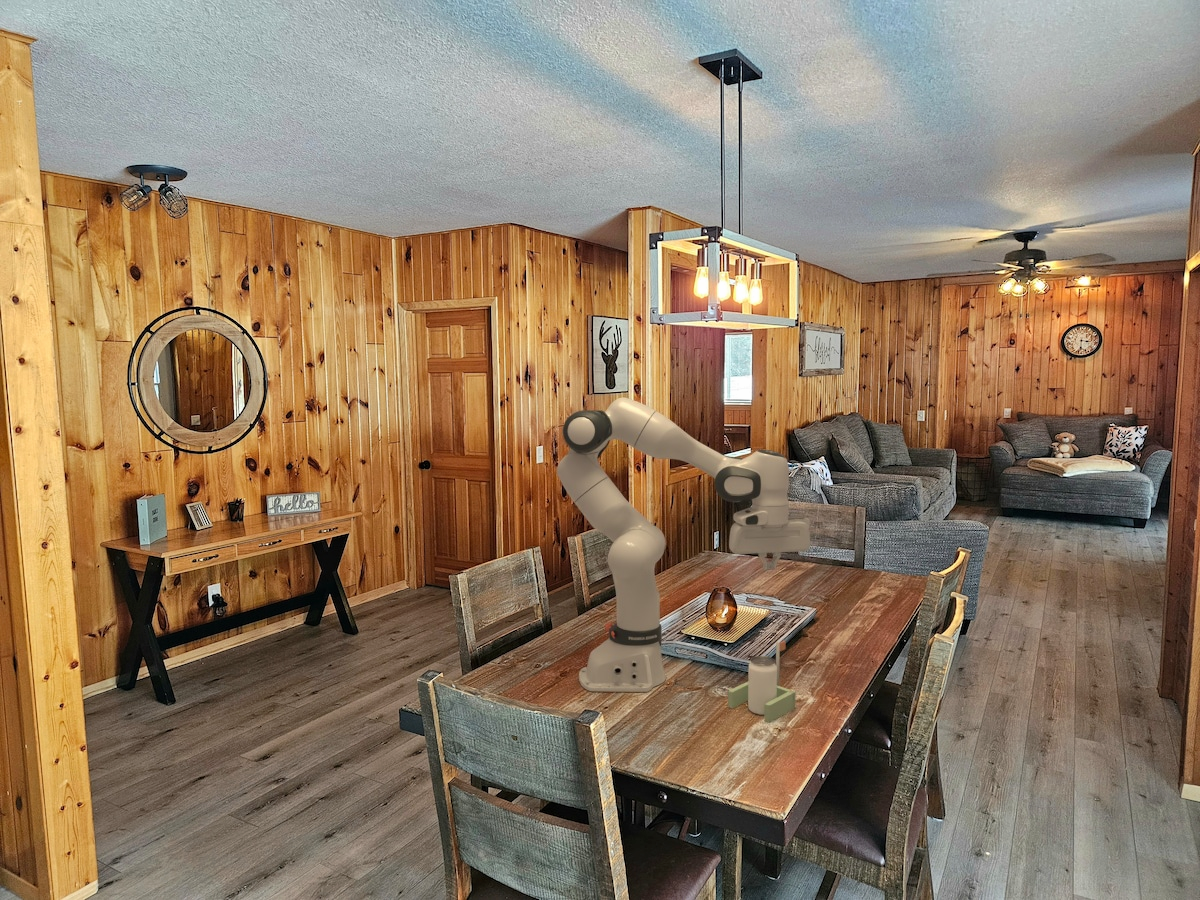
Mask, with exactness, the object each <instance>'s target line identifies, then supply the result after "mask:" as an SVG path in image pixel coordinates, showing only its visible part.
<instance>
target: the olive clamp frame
mask: <svg viewBox="0 0 1200 900" xmlns="http://www.w3.org/2000/svg"><path fill="white" fill-rule="evenodd" d="M786 642H787V641H786V640H783V641H780V642H776V643H775V664H776V667H777V698H775V699H773V700H771V701H770V702H768V703H766V704H765V711H764V715H763V718H764V722H765V723H771V722H772V721H774V720H776V719H778V718H780V717H782V716H784V715H786V714H787V713H789V712H791V711H793V710H795V709H796V706H797V705H796V703H797V700H796V698H797V692H796V691H795V690H792V689H788V688H786V687H783V686H780V655H781V654H780V652H782V651H784V650H786ZM746 702H748V681H746V682H744V683H741V684H739V685H737V686H735V687H734V688H731V689H729V690H728V691H727V708H730V709H735V708H736V707H738V706H740V705H743V704H744V703H746ZM794 708H795V709H794Z"/></svg>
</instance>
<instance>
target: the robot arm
mask: <svg viewBox="0 0 1200 900" xmlns="http://www.w3.org/2000/svg"><path fill="white" fill-rule="evenodd" d="M562 436H563V440H564V442H565V444H566V446H567V447H569V451H568V453H567V454H566V455H564V457H563V458H562V459H560V460H559V463H558V465H557V468H556V474H557V476H558V478H559V480H560V483H561V484H562V486H563V488H564V489H565V492H566V493H567V495H568V496H569V497H570V499H571V500H572V502H573V503H574V505H575V506H576V507H577V508H578V510H579V511H580V512H581V513H582V515H583V516H584V518H585V519H586V520H587V521H588V523H589V524H590V525H591V527H593V529H595V530H597V531H598V532H600V533H602V534H603V535H604V536H605V537H607V539H609V540H610V541H611V542H612V544H611V546H610V548H609V550H608V554H607V565H608V567H609V569H610V571H611V573H612V580H613V585H614V589H615V595H616V596H615V597H616V623H614V624H613V622H610V621H609V622H607V623H606V624H605V623H604V628H605V630H606V632H608V638H607V639H606V640H604V641H603V642H602V643H601V644H600V645H598V646H597V647H596V648H594V649H592V650H591V652H590V653H589V656H588V660H587V666H585V667H582V668H581V669H580V670H579V671H578V672H579V673H578V680H579V684H580V685H581V687H582V688H583V689H585V690H587V691H588V692H611V693H612V692H614V693H615V692H617V693H618V692H619V693H621V692H622V693H623V692H629V693H631V692H632V693H633V692H635V693H636V692H637V693H638V692H639V693H647V692H650V691H651V690H652V689H653V688H654V687H656V686H659V685H661V684H662V683H664V682H665V681H666V680H667V675H666V671H665V667H664V664H663V658H662V649H661V647H662V641H663V630H662V629H663V628H662V624H661V623H660V622H661V621H660V620H661V619H660V612H661V611H660V610H661V609H660V608H661V607H660V604H661V603H660V602H661V601H660V600H661V599H660V598H661V597H660V596H661V595H660V592H659V590H658V588H657V581H656V577H655V576H656V575H655V568H656V563H658V561H660V559H662V556H663V555H664V552H665V549H666V538H665V534H664V532H663V531H662V530H661V528H659V527H658V526H656V525H655V524H653V523H651V522H650V521H649V520H648V519H647V518H646V517H645V516H644V515H643V514H642V513H640V512H639V511H638V510H637V508H635V507H634V506H633V505H632V504H631V503H630V502H629V501H628V500H627V499H626V498H625V497H624V495H623V494H622V492H621V491H620V490H619V489H618V487H617V486H616V485H615V483H614V482H613V481H612V479H611V478H610V477H609V475H608V474H607V473H606V472H605V470H604V469H603V468H602V466H601V465H600V463H599V461H598V460H599V459H600V457H601V455H602V454H603V453H604V452H605V450H606V449H607V447H608V445H609V444H610V441H612V440H619V441H621V442H623V443H625V444H627V445H629V446H630V447H632V448H633V449H635V450H637V451H639V452H641V453H642V454H645V455H647V456H649V457H653V458H655V459H658V460H678V461H683V462H684V463H688V464H690V465H691V466H693V467H694V468H697V469H698V470H700V471H701V472H704V473H706V474H707V475H709V476H711V477H712V478H714V489H715V492H716V494H717V495H718V496H719V497H720V499H723V500H724V501H725V502H728V503H729V502H730V503H738V502H744V501H751V500H752V501H751V502H752V503H751V504H752V505H751V506H750V507H747V508H745V509H742V510H739V511H737V512H735V513H733V516H732V517H733V521H734V523H733V524H732V525H731V528H730V531H729V539H728V546H729V547H728V548H729V550H730V551H731V552H732V553H733V554H734V555H748V554H758V557H759V559H760V560H761V562H762V569H763V570H764V571H773V570H775V571H776V570H777V564H778V562H779V560H780V559H781V556H782V553H791V552H792V553H793V552H794V553H795V552H807V551H809V549H810V548H811V535H810V527H811V519H810V518H809V517H808V516H807V515H805V513H804V514H803V513H798V514H793V513H792V514H790V513H789V506H790V505H789V504H790V503H789V499H788V491H789V488H790V476H789V475H790V473H789V471H790V470H789V463H788V459H787V458H786V457H785V455H783V454H782V453H780V452H778V451H774V450H769V449H757V450H755V452H754V453H752V454H751V455H748V456H746V457H744V458H743V457H737V456H729V455H724V454H722V453H721V452H719V451H717V450H715V449H714V448H711V447H709V446H707V445H706V444H704V443H703V442H700V441H698V440H697V439H695V438H694V437H692V436H691V435H690V434H689V433H687V432H686V431H685V430H683V429H682V428H681V427H680V426H678V425H677V424H676V423H675V422H674V421H672V420H671V419H669V418H668V417H667V416H665V415H664V414H662V413H661V412H659V411H658V410H655V409H654V408H652V407H650V406H648V405H646V404H643V403H642V402H639V401H636V400H634V399H631V398H628V397H625V396H624V397H619V398H616V399H615V400H613V401H612V402H610V404H609V406H608V407H607V408H606V410H605V411H604V410H597V409H596V410H595V409H594V410H590V409H589V410H587V409H586V410H585V409H583V410H579V411H576V412H573V413H571V414H570V415H569V416H568V417H567V418H566V420H565V421H564V423H563V426H562ZM769 553H771V554H772V555H773V558H772V559H771V560H770V561H767V559H766V558H767V556H768V555H767V554H769Z"/></svg>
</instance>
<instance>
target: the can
mask: <svg viewBox="0 0 1200 900" xmlns="http://www.w3.org/2000/svg"><path fill="white" fill-rule="evenodd" d="M747 672H748V680H747V682H748V701H747V707H748V708H747V709H748V710H749V711H750V712H751V713H752V714H754V715H756V716H757V715H759V716H764V711H765V704H766V703H768V702H770V701H771V700H773V699H775V698H777V667H776V659H774V658H773V657H771V656H764V655H757V656H753V657H751V658H750V662H749V664H748V671H747Z"/></svg>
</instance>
